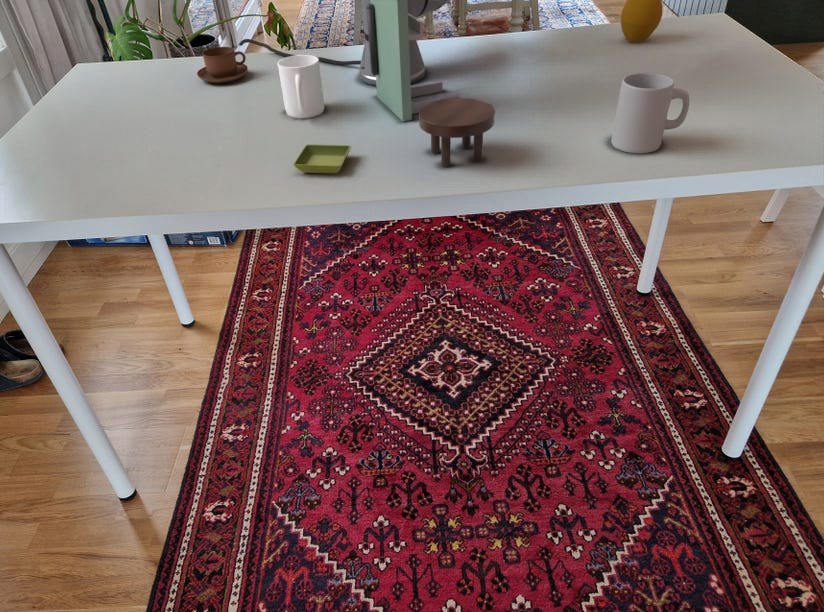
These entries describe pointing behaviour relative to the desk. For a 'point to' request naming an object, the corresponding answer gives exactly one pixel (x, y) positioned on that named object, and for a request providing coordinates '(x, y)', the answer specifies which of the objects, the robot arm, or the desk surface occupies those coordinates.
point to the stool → (456, 125)
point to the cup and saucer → (222, 65)
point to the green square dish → (322, 158)
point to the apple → (640, 18)
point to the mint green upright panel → (396, 57)
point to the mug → (645, 112)
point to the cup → (301, 86)
